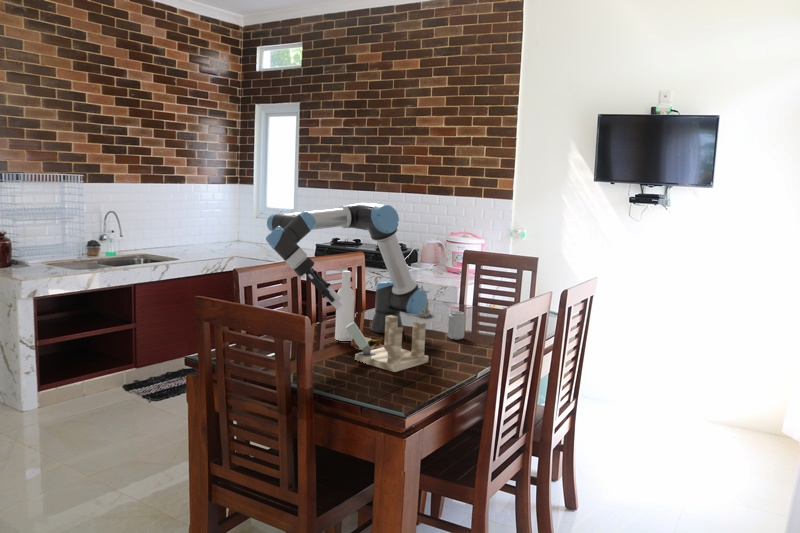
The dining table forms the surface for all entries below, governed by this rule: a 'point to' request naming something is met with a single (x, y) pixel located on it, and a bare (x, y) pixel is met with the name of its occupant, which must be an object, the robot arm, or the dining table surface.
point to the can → (456, 325)
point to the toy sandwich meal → (372, 343)
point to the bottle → (345, 309)
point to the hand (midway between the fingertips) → (339, 304)
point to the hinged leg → (358, 337)
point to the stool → (397, 348)
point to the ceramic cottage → (424, 312)
